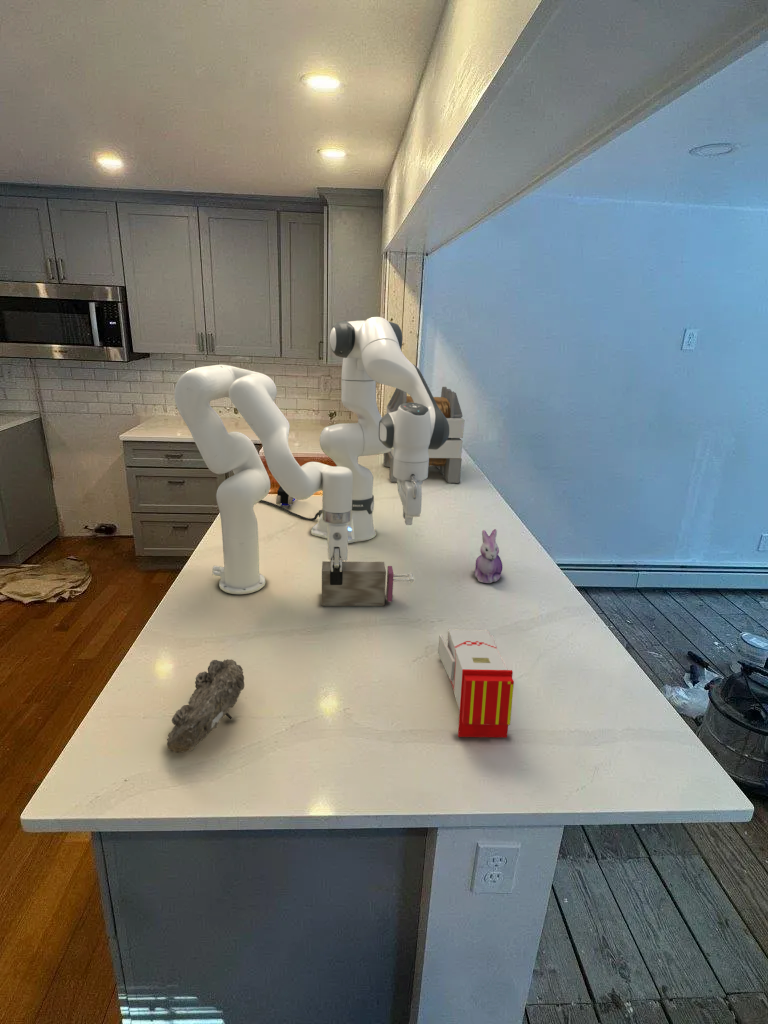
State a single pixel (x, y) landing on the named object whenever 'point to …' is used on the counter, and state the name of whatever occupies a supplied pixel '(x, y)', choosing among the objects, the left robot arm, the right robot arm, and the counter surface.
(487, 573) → the figurine
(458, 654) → the toy
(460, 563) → the counter surface
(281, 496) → the figurine character
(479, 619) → the counter surface
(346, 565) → the cabinet
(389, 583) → the drawer
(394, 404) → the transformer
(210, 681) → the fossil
